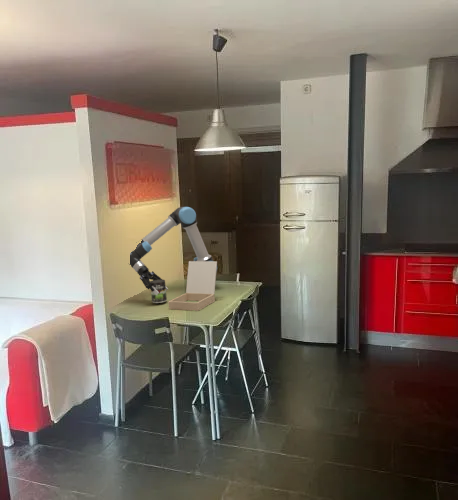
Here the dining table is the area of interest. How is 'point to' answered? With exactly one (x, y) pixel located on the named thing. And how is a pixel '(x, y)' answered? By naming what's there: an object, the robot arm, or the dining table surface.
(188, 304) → the mailer box
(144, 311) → the dining table surface
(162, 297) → the coffee can
